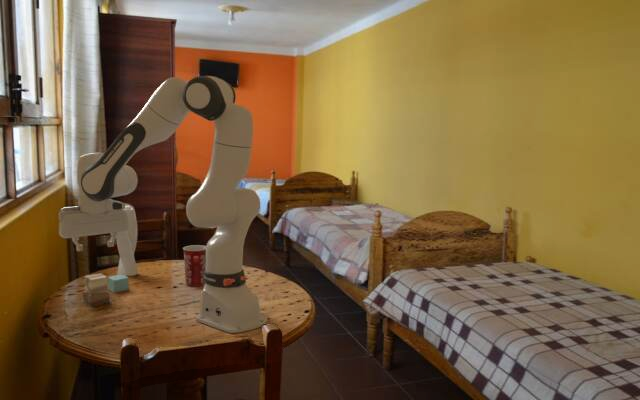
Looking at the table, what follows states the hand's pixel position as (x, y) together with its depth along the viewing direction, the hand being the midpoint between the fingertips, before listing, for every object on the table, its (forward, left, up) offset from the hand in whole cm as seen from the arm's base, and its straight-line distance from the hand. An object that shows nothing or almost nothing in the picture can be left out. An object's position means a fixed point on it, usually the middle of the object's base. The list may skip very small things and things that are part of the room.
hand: (95, 248), depth 157 cm
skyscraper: (+23, -20, -18) cm, 35 cm away
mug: (-3, -34, -18) cm, 39 cm away
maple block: (0, 0, -14) cm, 14 cm away
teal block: (+7, -10, -18) cm, 22 cm away
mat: (0, 0, -18) cm, 18 cm away
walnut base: (0, 0, -17) cm, 17 cm away
